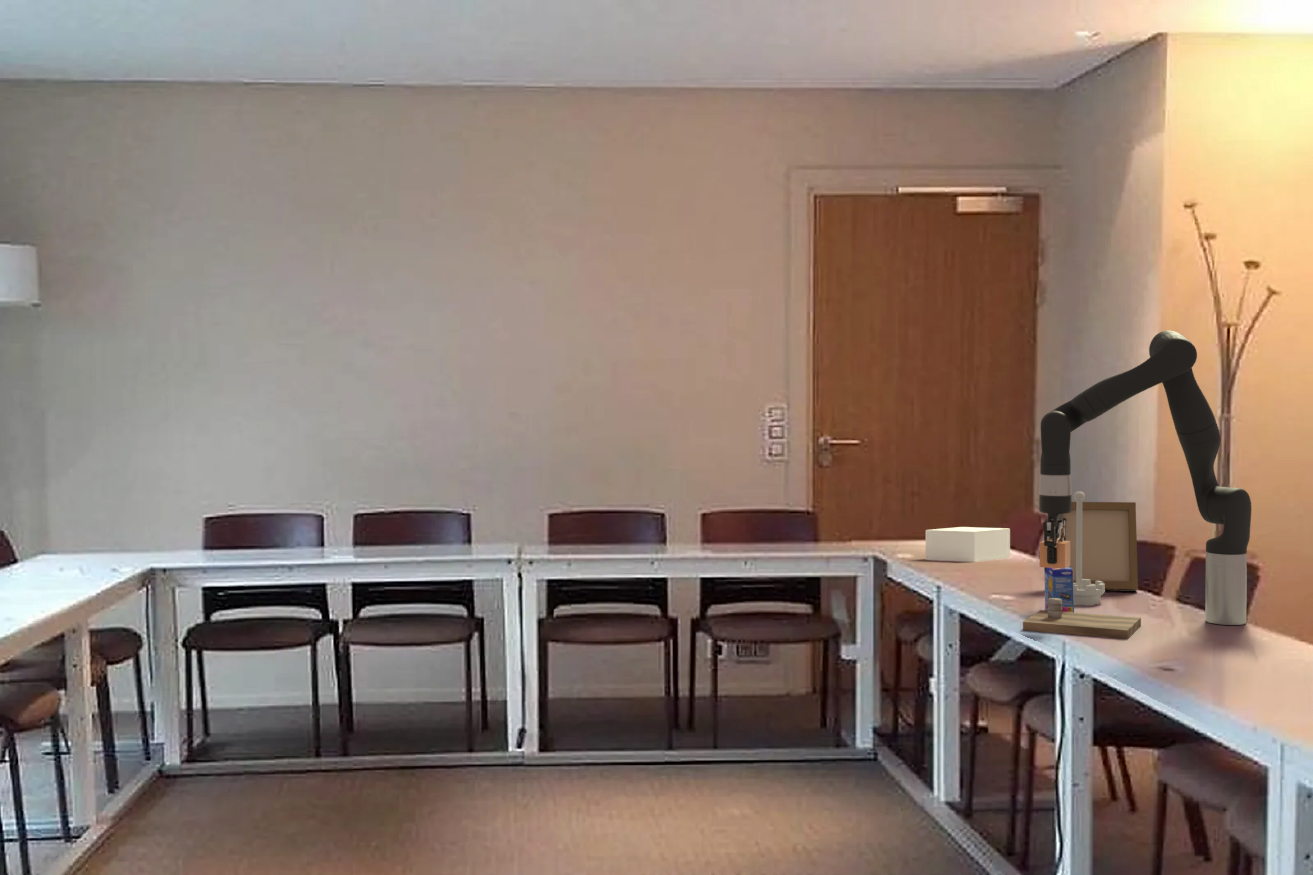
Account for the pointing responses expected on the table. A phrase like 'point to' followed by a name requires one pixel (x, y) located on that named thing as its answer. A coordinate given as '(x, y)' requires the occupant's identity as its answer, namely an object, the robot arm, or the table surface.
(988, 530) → the white rectangular box
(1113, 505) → the photo frame
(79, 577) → the table surface
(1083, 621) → the base plate
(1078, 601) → the flag stand
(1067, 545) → the orange cube
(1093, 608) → the table surface
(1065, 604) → the ink cartridge box
